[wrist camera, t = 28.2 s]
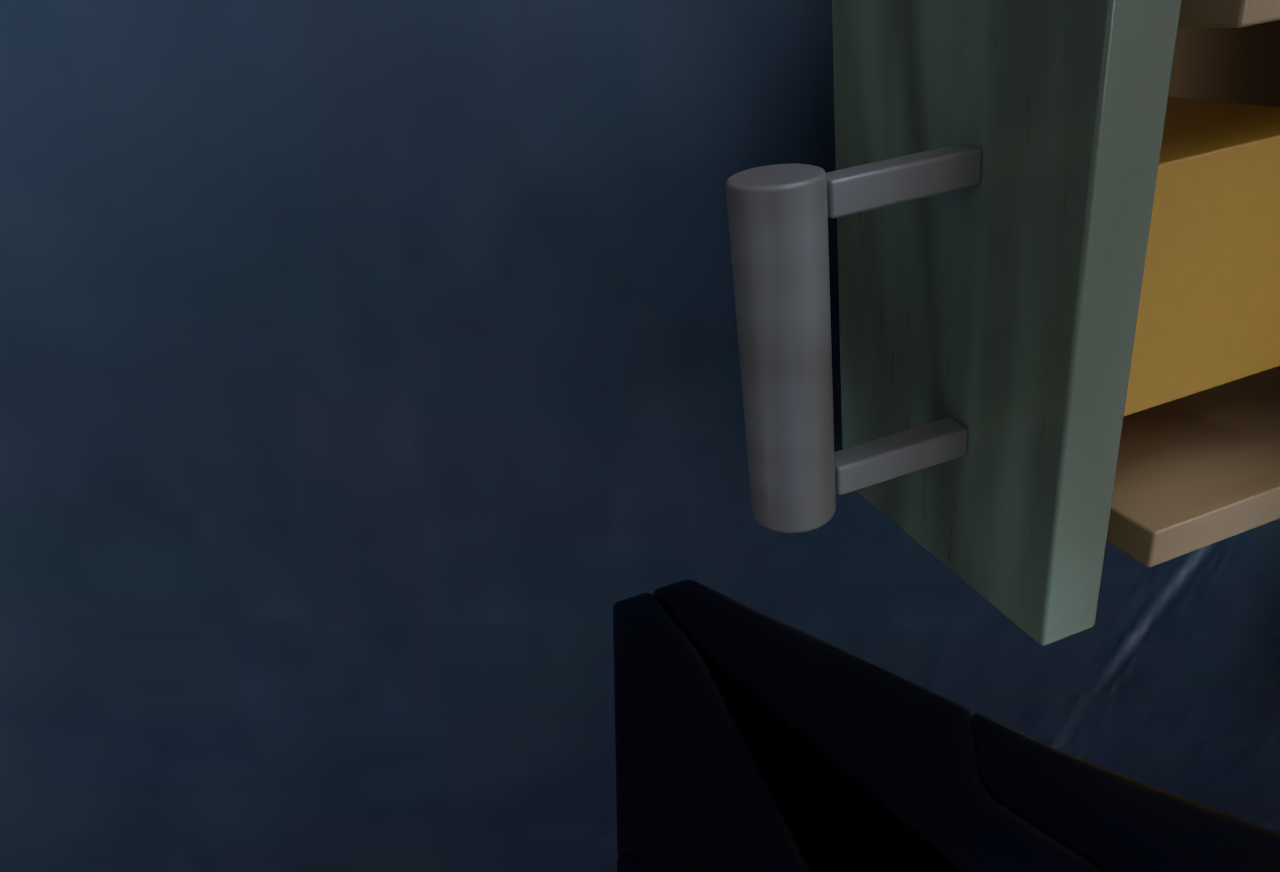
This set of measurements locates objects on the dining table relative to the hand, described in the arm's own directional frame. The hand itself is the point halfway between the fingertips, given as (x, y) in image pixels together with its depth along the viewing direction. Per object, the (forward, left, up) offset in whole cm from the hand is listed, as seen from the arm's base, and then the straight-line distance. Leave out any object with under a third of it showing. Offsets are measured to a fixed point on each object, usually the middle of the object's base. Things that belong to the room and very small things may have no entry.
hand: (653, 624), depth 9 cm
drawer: (0, +12, -9) cm, 16 cm away
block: (0, +12, -8) cm, 15 cm away
